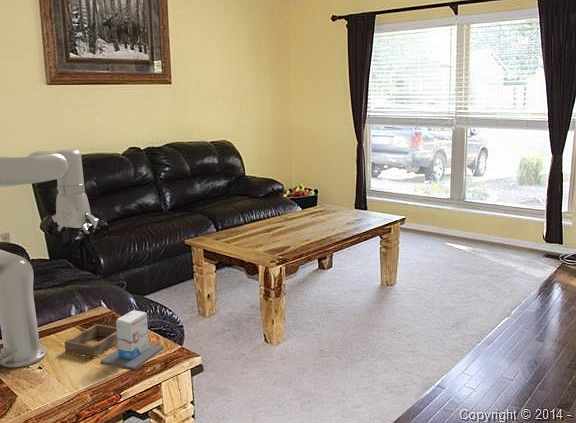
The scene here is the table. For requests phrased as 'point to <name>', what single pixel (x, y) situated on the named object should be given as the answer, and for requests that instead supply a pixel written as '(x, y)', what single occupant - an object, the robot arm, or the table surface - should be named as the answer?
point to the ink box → (132, 334)
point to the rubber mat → (134, 363)
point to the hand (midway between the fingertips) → (77, 243)
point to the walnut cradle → (78, 341)
